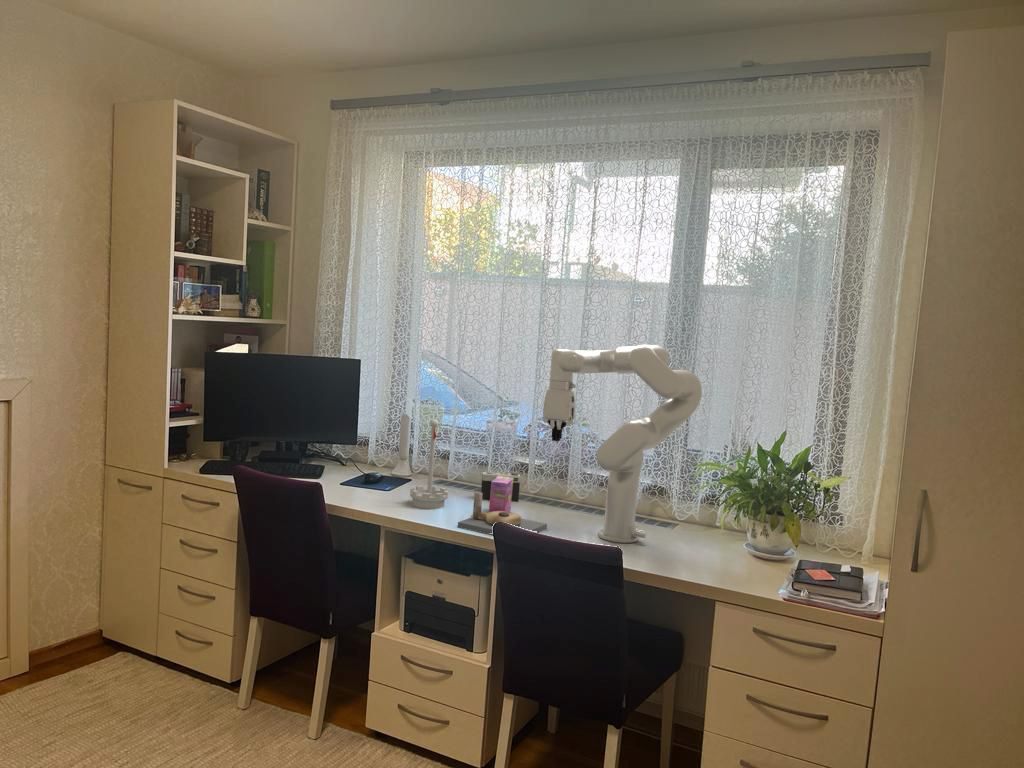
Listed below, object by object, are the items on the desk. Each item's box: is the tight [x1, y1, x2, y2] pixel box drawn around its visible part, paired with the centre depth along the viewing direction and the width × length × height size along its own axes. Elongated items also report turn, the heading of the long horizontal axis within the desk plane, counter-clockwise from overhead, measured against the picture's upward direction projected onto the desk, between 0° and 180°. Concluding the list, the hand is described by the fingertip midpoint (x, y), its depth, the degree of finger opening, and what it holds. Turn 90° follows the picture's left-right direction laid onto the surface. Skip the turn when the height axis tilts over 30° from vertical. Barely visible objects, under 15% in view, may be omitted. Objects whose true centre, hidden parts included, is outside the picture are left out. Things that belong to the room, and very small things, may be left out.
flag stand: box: [409, 418, 449, 510], centre depth 278 cm, size 13×13×30 cm
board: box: [457, 510, 548, 534], centre depth 257 cm, size 22×21×2 cm
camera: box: [480, 471, 521, 503], centre depth 293 cm, size 14×8×10 cm, turn 95°
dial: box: [472, 491, 522, 526], centre depth 256 cm, size 16×11×8 cm
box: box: [488, 476, 513, 512], centre depth 274 cm, size 10×6×12 cm, turn 168°
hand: (556, 440), depth 268 cm, fingers closed
